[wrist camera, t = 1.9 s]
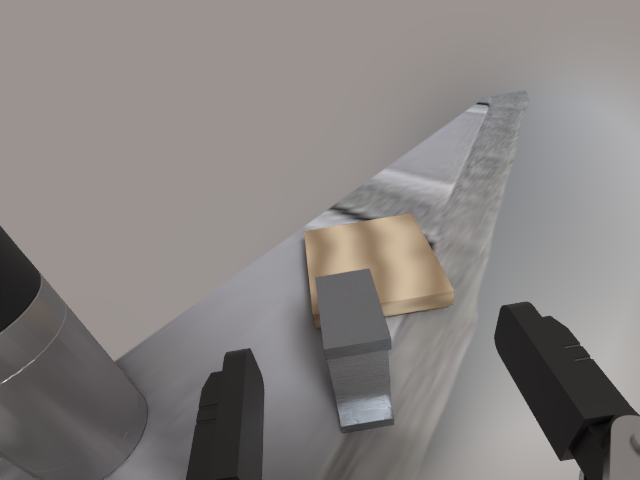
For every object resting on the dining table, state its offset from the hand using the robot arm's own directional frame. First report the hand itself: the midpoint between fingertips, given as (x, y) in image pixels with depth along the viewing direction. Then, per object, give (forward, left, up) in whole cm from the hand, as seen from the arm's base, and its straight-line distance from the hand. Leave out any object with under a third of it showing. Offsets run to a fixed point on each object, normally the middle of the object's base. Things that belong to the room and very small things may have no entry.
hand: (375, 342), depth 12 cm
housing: (0, +11, -22) cm, 25 cm away
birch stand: (+4, +26, -22) cm, 35 cm away
